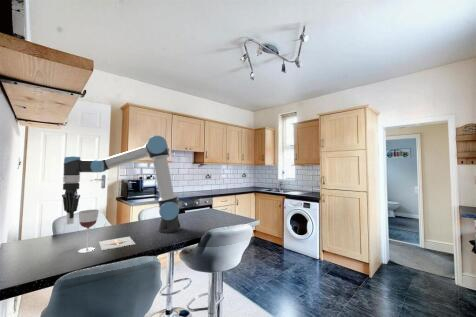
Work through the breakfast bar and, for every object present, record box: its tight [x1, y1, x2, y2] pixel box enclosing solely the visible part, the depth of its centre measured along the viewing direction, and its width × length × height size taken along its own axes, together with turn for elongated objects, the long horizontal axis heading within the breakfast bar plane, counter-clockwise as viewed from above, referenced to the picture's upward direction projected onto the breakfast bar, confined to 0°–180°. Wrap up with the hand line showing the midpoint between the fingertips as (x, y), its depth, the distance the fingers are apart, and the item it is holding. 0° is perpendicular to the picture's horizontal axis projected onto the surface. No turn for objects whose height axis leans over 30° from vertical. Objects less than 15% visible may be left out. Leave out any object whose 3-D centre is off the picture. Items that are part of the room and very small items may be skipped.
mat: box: [98, 236, 136, 252], centre depth 121 cm, size 16×16×1 cm
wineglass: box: [77, 209, 99, 254], centre depth 111 cm, size 8×9×20 cm
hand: (70, 223), depth 122 cm, fingers closed
